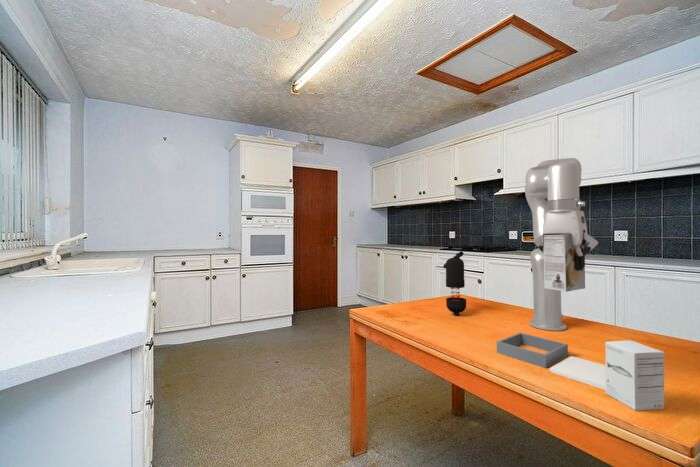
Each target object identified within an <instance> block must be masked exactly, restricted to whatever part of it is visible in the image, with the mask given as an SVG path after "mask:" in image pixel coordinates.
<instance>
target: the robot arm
mask: <svg viewBox="0 0 700 467" xmlns="http://www.w3.org/2000/svg"><path fill="white" fill-rule="evenodd" d="M582 169H583V168H582V165H581V161H580V160H579V159H577V158H576V157H567V158H566V157H565V158H558V159H547V160H544V161H541V162H540V163H539V164H537V166H534V167H531V168H529V169H528V170H527V172H526V173H525V180H524V181H525V185H524V186H525V187H524V193H525V194H524V195H525V199H526V201H527V204H528V206H529V208H530V210H531V213H532V214H531V215H532V234H533V240H534V241H533V243H534V244H535V245H536V247H538V248H535V249H533V250H532V251H531V253H530V254H529V260H530V266H531V271H532V290H533V295H532V296H533V319H531V320H529V325H530V326H531V327H533V328H536V329H539V330H543V331H552V332H554V331H557V332H558V331H565V330H566V329H567V325H566V324H565V323H563V322H562V321H563V320H562V319H564V314H563V313H562V291H558V290H551V289H545V288H544V251H543V234H546V233H571V237H572V246H573V247H574V249H575V251H576V253H577V256H576V257H575V267H576V270H577V271H581V270H583V268H584V267H586V256H587V255H588V254H589V253H590V252H591V251H592V250H594V248H595V247H596V246H597V245H598V244H599V241H598V240H596V239H595V238H594V237H592V236H591V235H589V234H588V227H587V221H586V217H585V212H584V211H583V210H580V209H581V207H586V201H585V200H584V201H582V200H581V199H580V186H581V183H582ZM583 246H584V248H583Z"/></svg>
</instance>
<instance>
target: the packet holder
mask: <svg viewBox="0 0 700 467" xmlns="http://www.w3.org/2000/svg"><path fill="white" fill-rule="evenodd" d="M519 345H524V346H529V347H532V348H535V349H538V350H543V351H546V353H542V352H539V351H538V352H537V351H533V350H530V349H527V348H523V347H521V346H520V347H519ZM568 346H569V345H568V344H567V343H564V342H559V341H556V340H551V339H547V338H545V337H544V338H543V337H540V336H535V335H531V334H528V333H523V332H518V333H516V334H513V335H510V336H508V337H505V338H503V339H500V340H498V341H496V353H497V354H500V355H504V356H507V357H511V358H513V359H517V360H519V361H522V362H526V363H528V364H532V365H535V366H538V367H541V368H545V369H547V368H549V367H552V366H553V365H555V364H557V362H558V363H559V361H562V359H563V360H564V359H566V357H567V358H568V357H569V347H568Z"/></svg>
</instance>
